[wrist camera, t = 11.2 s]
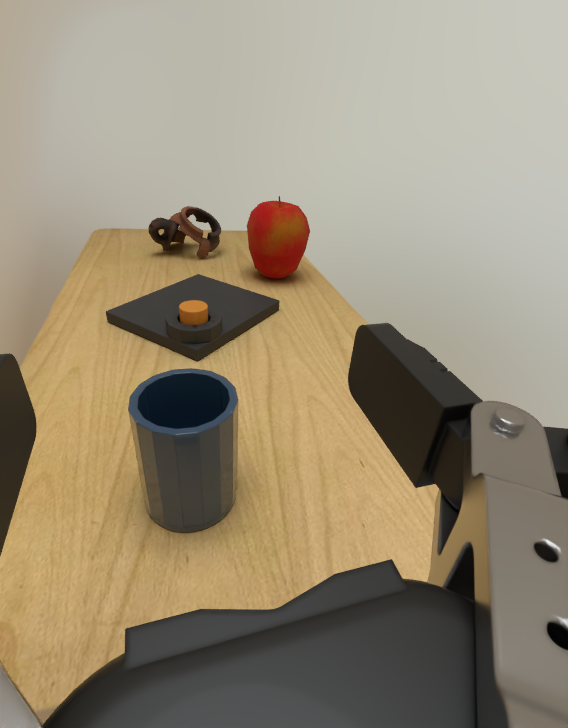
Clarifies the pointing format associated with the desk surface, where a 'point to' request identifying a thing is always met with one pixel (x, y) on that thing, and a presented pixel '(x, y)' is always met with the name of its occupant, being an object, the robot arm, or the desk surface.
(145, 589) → the desk surface
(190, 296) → the scale
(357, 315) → the desk surface
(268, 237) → the apple
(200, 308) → the button
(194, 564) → the desk surface
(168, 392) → the cup
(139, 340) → the desk surface
